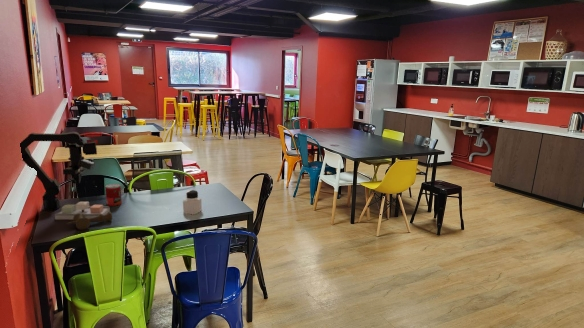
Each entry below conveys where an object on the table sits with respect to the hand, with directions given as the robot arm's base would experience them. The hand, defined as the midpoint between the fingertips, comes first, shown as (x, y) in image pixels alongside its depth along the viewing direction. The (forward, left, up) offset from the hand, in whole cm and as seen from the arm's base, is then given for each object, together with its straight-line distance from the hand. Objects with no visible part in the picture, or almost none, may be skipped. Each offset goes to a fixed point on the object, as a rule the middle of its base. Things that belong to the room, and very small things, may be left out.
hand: (78, 183), depth 208 cm
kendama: (+17, -28, -14) cm, 35 cm away
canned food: (+17, +3, -13) cm, 22 cm away
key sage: (+1, -15, -11) cm, 19 cm away
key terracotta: (+15, -15, -11) cm, 24 cm away
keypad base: (+8, -15, -13) cm, 21 cm away
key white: (+8, -15, -9) cm, 19 cm away
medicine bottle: (+63, -10, -13) cm, 65 cm away
